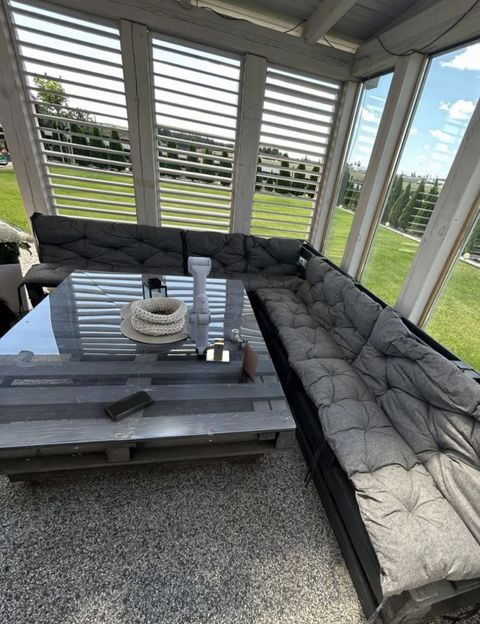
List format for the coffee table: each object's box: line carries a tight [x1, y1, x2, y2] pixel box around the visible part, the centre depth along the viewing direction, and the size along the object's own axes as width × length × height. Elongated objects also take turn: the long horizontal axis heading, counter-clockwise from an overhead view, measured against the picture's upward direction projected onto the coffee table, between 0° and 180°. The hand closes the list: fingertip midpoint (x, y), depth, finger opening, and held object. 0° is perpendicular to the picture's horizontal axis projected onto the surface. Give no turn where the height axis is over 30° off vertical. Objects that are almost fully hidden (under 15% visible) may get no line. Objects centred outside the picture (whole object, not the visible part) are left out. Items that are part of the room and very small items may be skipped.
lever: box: [205, 340, 222, 350], centre depth 141 cm, size 12×3×3 cm, turn 97°
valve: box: [230, 328, 250, 351], centre depth 155 cm, size 7×7×12 cm
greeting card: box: [239, 342, 260, 381], centre depth 132 cm, size 11×7×15 cm, turn 178°
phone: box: [104, 390, 153, 421], centre depth 110 cm, size 8×1×15 cm
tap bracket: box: [206, 337, 230, 363], centre depth 142 cm, size 11×9×10 cm
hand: (201, 358), depth 144 cm, fingers closed on lever, 3 cm apart
